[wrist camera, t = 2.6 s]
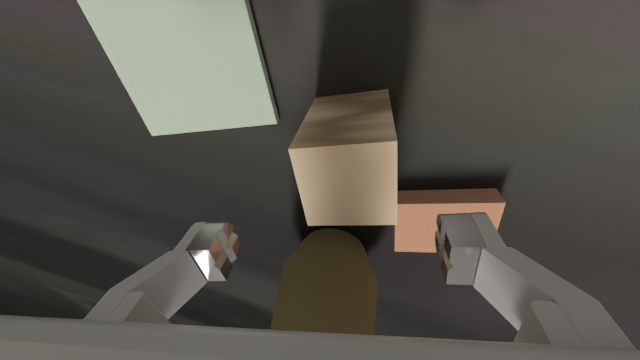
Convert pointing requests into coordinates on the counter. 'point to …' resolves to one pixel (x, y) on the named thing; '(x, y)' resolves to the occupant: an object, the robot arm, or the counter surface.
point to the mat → (186, 62)
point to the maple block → (347, 160)
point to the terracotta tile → (425, 205)
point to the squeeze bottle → (327, 286)
